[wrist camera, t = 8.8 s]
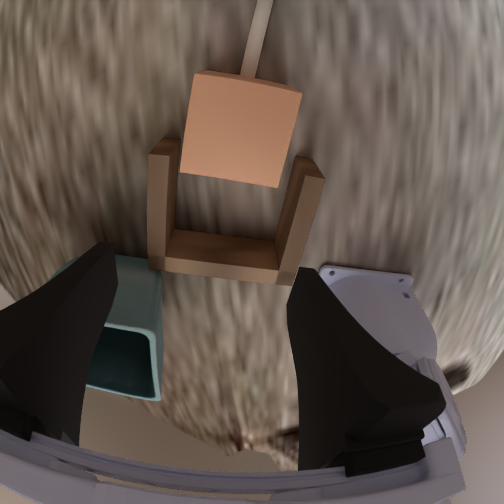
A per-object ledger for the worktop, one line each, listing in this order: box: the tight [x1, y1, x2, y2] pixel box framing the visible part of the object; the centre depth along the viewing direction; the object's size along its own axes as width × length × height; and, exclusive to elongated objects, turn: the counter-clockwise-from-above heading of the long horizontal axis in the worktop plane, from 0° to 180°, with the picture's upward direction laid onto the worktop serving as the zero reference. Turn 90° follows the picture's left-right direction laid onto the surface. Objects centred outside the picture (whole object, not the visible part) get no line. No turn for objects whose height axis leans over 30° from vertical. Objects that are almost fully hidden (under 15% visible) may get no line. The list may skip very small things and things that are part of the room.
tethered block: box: [180, 0, 303, 188], centre depth 13 cm, size 5×14×6 cm, turn 168°
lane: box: [147, 138, 325, 286], centre depth 20 cm, size 10×8×4 cm
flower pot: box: [47, 254, 164, 401], centre depth 21 cm, size 9×9×9 cm
